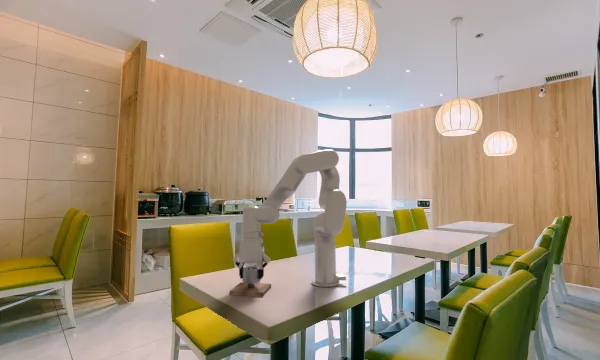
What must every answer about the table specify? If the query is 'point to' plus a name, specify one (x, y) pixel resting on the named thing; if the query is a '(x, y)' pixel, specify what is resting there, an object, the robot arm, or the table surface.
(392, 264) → the table surface
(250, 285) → the steel shaft
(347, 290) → the table surface
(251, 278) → the ring
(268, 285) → the walnut base
